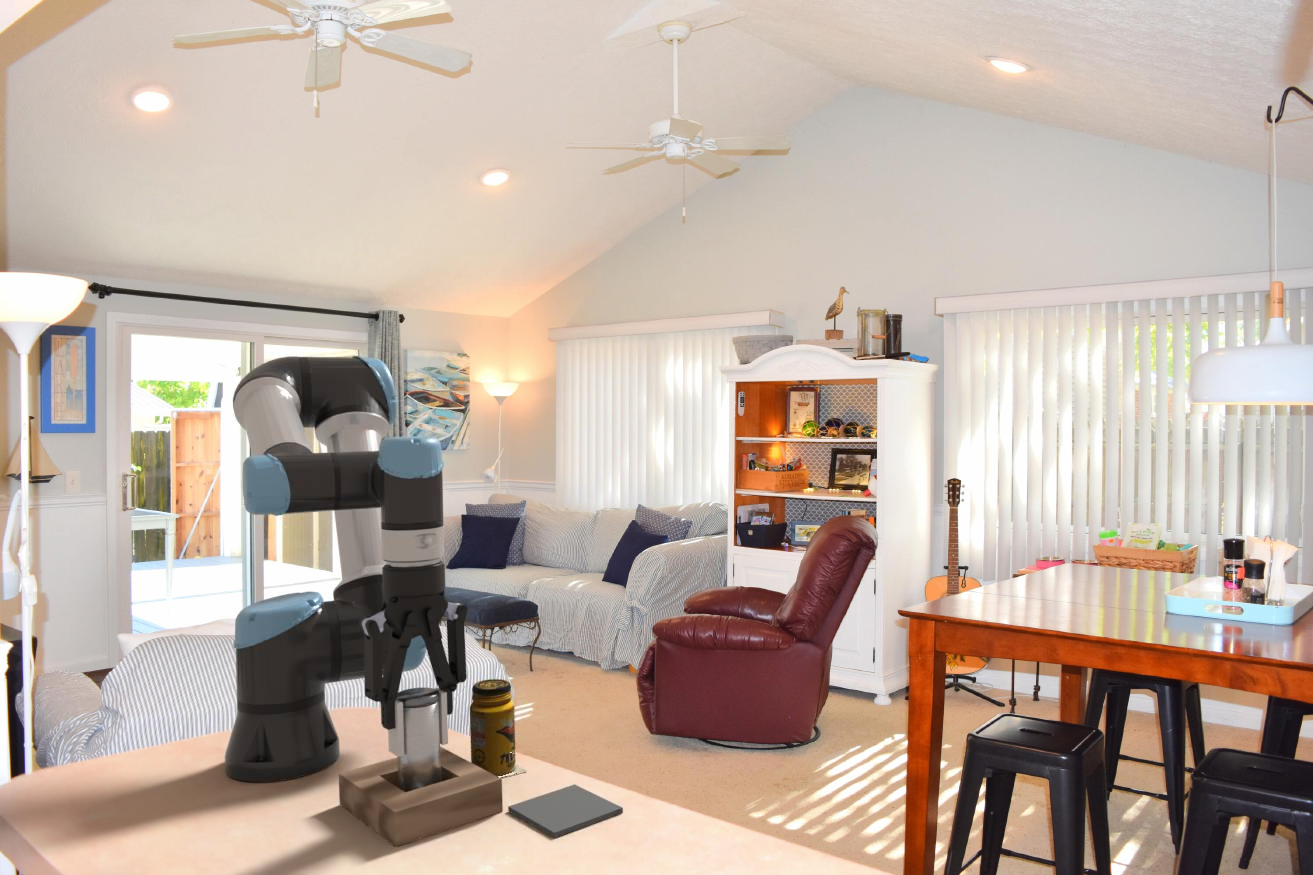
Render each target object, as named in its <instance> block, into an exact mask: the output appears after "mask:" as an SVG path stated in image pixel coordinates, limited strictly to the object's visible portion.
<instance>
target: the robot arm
mask: <svg viewBox="0 0 1313 875" xmlns="http://www.w3.org/2000/svg"><path fill="white" fill-rule="evenodd" d="M396 395H397V394H396V388H395V383H394V380H393V377H392V373H391V372H390V369H389V368H388V366H387V364H386V363H385V362H384V361H383V360H380V359H379V358H375V357H362V356H360V355H353V356H351V357H344V356H343V357H341V356H337V357H335V356H298V355H297V356H296V355H295V356H284V357H278V358H274V359H272V360H271V359H270V360H267V361H266V362H264V363H262V364H260V365H258V366H256V367H255V368H253V369H252V370H250V371H249V372H248V373H247V374H245V376H244V377H243V378H241V380H240V381H239V383H238V384H237V386H236V388H235V391H234V393H233V398H232V406H233V407H232V408H233V409H232V410H233V413H234V416H235V419H236V421H237V422H238V424H239V425H240V427H241V428H243V429H244V430H245V431H246V435H247V439H248V443H249V447H250V451H251V454H252V455H251V456H248V457H246V458H245V460H244V462H243V464H242V496H243V503H244V504H243V506H244V508H245V510H246V512H247V513H249V514H250V515H256V516H257V515H258V516H259V515H260V516H262V515H265V516H266V515H269V516H271V515H272V516H275V517H278V516H283V515H291V514H303V513H305V514H307V513H319V512H330V511H332V512H333V511H334V521H335V529H336V537H337V545H338V553H339V554H338V555H339V563H340V569H341V570H340V571H341V572H340V574H341V581H340V582H339V583H338V584H337V585H336V587H335V588H334V589H333V591H332V592H333V593H332V595H333V597H332V598H333V600H326V601H324V597H322V594H321V593H320V592H317V591H303V592H293V593H287V594H282V595H276V596H273V597H269V598H266V599H265V598H264V599H262V600H260V601H257V602H253V603H252V604H250V605H247V606H246V607H244V608H243V609H242V610H240V611H239V613H238V614H237V615H236V618H235V622H234V640H233V643H232V645H233V646H232V647H233V648H234V649H235V674H236V675H235V676H236V677H235V679H236V680H235V681H236V684H235V685H236V717H235V719H234V720H235V721H234V724H233V727H232V731H231V733H230V737H229V741H228V744H227V747H226V751H225V755H224V768H225V770H224V771H225V774H226V775H227V776H229V777H230V778H231V779H234V780H238V781H241V782H251V783H253V782H254V783H257V782H258V783H259V782H260V783H262V782H263V783H264V782H265V783H266V782H277V781H278V782H279V781H285V780H290V779H296V778H300V777H303V776H308V775H310V774H314V773H316V772H319V771H321V770H323V769H324V770H325V768H328V767H330V766H331V765H333V764H334V763H335V762H336V761H337V760H339V757H340V754H341V753H340V752H341V751H340V750H341V749H340V738H339V735H338V732H337V730H336V727H335V725H334V722H333V720H332V717H331V714H330V711H329V710H328V706H327V704H326V693H325V692H326V691H325V690H326V688H325V686H326V684H330V683H336V682H337V683H338V682H344V681H352V680H358V679H359V680H360V679H364V696H365V697H366V698H368V699H370V701H371V700H372V701H374V702H375V703H379V702H380V718H381V719H380V720H381V721H380V722H381V726H382V728H384V729H385V730H388V733H387V734H388V752H390V753H392V754H393V755H395V756H396V757H397V756H398V757H400V756H404V726H403V702H401V701H399V700H397V695H398V692H399V689H400V684H401V680H402V676H403V673H404V672H408V671H409V672H410V671H414V670H416V669H417V668H419V667H420V665H422V664H423V661H424V659H425V657H426V653H427V656H428V658H429V662H430V666H431V669H432V672H433V676H434V680H435V683H436V685H437V687H438V688H437V687H433V688H434V689H437V690H438V691H439V722H440V745H442V746H444V745H448V744H449V729H448V728H449V727H448V726H449V724H448V716H449V715H452V714H453V711H454V700H453V699H454V697H453V692H455V691H456V690H457V689H458V685H459V684H460V683H464V682H465V681H466V680H467V678H468V676H467V675H468V674H467V656H466V655H467V654H466V637H465V636H466V634H465V632H466V631H465V622H466V618H467V614H468V610H469V608H468V606H467V605H465V604H462V603H459V602H455V601H454V602H449V601H448V599H447V597H446V595H445V594H446V593H445V589H446V564H445V563H444V561H442V560H441V558H443V557H444V556H445V536H444V534H445V533H444V532H445V529H444V528H445V527H444V498H443V497H444V488H443V486H444V484H443V478H444V477H443V469H444V465H445V464H444V461H443V457H442V456H443V455H442V445H441V442H440V440H439V439H438V438H437V437H435V436H394V437H393V436H392V437H386V436H387V434H388V432H389V430H390V426H391V425H392V424H394V423H395V420H396V417H397V410H398V409H397V408H398V405H397V398H396ZM305 428H309V429H310V428H314V434H315V439H316V440H317V441H318V442H319V443H320V444H322V445H324V446H325V447H326V451H327V452H314V450H313V448H312V445H311V442H310V440H309V438H308V435H307V433H306V430H305ZM444 615H445V618H446V636H447V638H446V640H447V655H446V651H445V648H444V644H443V641H442V640H443V634H442V631H441V628H440V625H439V624H440V622H441V620H442V619H443V617H444ZM447 656H448V657H447Z"/></svg>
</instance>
